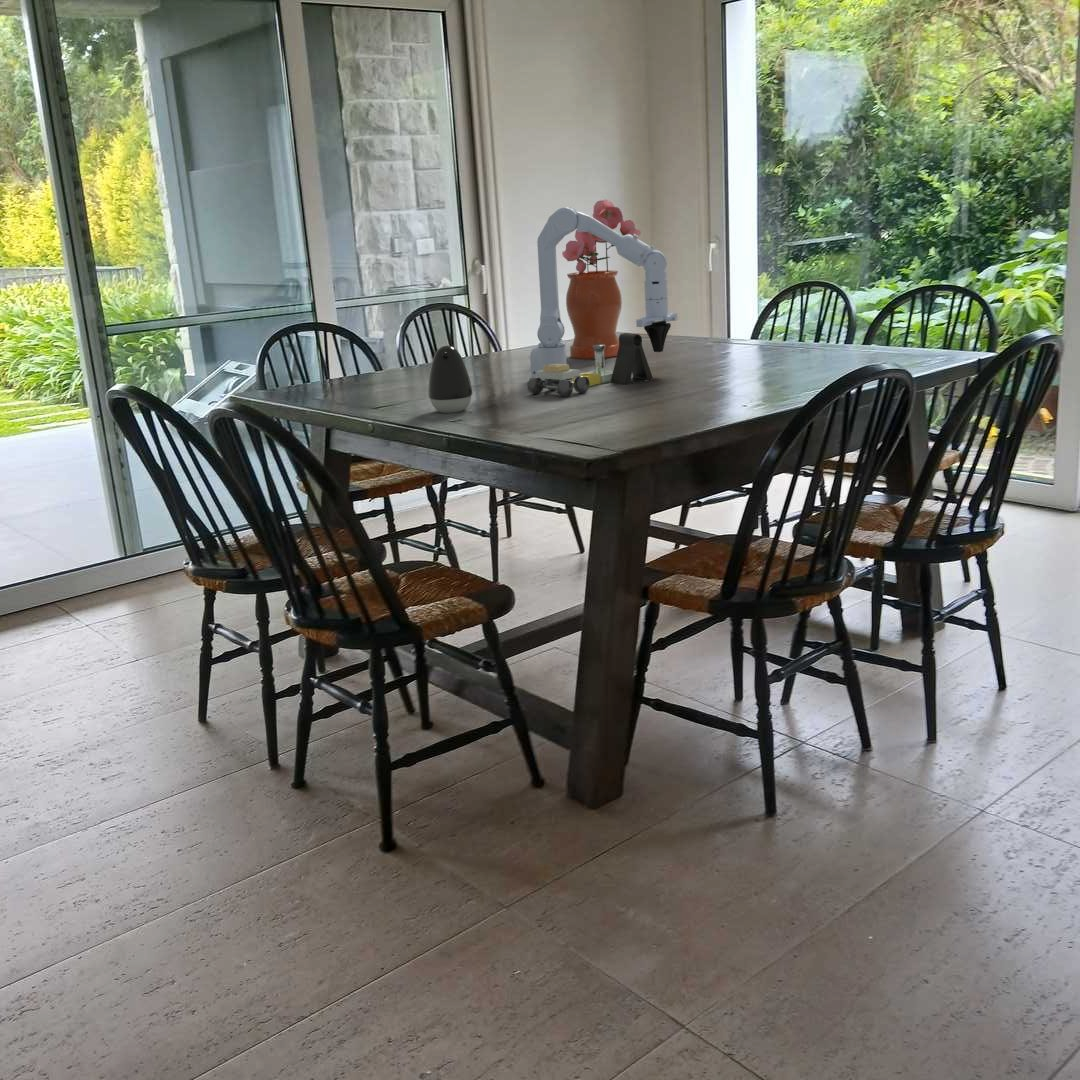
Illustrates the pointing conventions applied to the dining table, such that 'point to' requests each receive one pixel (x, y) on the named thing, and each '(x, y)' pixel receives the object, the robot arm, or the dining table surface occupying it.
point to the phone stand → (630, 360)
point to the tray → (604, 376)
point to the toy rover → (558, 380)
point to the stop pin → (599, 359)
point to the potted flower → (595, 288)
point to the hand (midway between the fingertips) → (658, 351)
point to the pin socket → (591, 378)
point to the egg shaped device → (449, 381)
